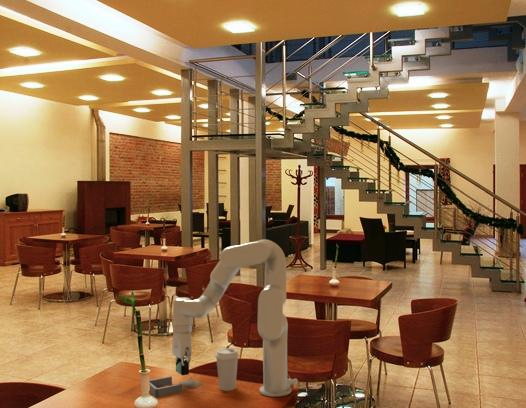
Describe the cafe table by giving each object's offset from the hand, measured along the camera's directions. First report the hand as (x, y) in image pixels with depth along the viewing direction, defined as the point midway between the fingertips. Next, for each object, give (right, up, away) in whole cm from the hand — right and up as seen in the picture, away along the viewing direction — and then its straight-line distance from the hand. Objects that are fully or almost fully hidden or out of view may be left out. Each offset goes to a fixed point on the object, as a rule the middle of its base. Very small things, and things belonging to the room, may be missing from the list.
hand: (182, 372), depth 221 cm
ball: (0, +2, 0) cm, 2 cm away
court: (-7, -6, -4) cm, 10 cm away
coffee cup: (+19, -6, -3) cm, 20 cm away
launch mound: (+3, -18, +1) cm, 18 cm away
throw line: (-5, -6, -3) cm, 8 cm away
